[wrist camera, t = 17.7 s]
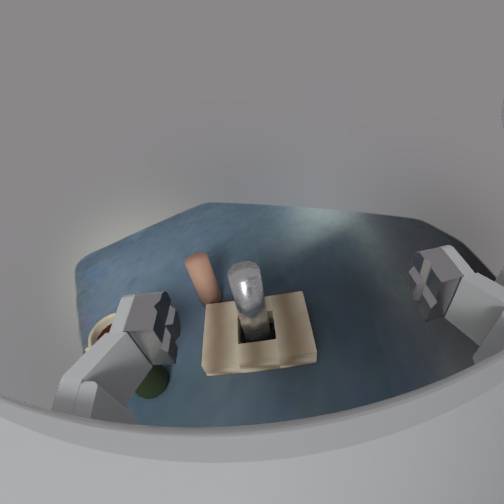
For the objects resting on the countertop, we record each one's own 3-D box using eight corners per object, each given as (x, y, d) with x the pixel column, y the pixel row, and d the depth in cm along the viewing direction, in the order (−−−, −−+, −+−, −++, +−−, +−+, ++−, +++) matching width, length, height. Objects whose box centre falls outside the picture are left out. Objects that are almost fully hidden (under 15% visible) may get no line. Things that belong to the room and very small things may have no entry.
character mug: (181, 357, 42) (148, 302, 34) (187, 395, 36) (149, 345, 28) (122, 370, 40) (80, 321, 32) (122, 407, 34) (73, 362, 27)
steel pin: (270, 326, 44) (258, 259, 36) (272, 346, 41) (260, 280, 33) (245, 329, 45) (227, 263, 36) (246, 350, 41) (226, 285, 33)
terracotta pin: (213, 288, 54) (198, 250, 49) (226, 296, 51) (212, 256, 46) (197, 301, 51) (180, 262, 47) (210, 309, 49) (193, 269, 44)
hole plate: (302, 303, 47) (302, 290, 45) (316, 362, 38) (317, 351, 36) (210, 315, 48) (206, 304, 46) (207, 375, 38) (201, 365, 37)
